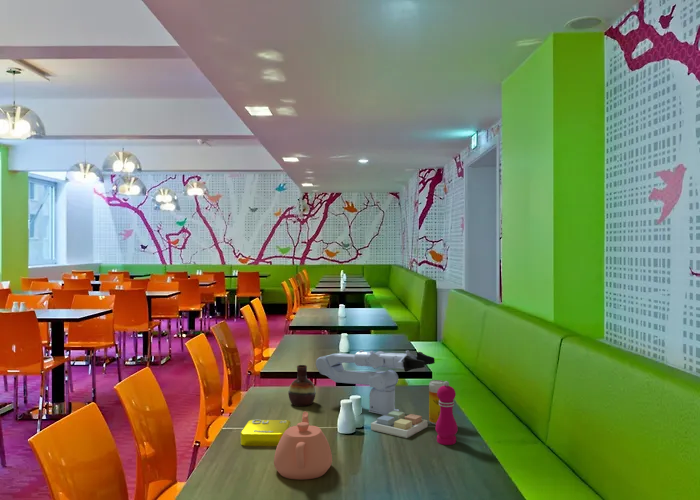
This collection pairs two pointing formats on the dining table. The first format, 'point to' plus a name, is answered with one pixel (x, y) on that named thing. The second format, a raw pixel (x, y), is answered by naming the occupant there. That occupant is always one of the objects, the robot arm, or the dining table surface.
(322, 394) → the dining table surface
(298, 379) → the vase
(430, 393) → the beer can
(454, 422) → the pepper mill
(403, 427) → the mustard key
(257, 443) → the element tile
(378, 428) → the keypad base
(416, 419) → the terracotta key
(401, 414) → the sage key
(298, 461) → the teapot
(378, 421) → the slate-blue key
